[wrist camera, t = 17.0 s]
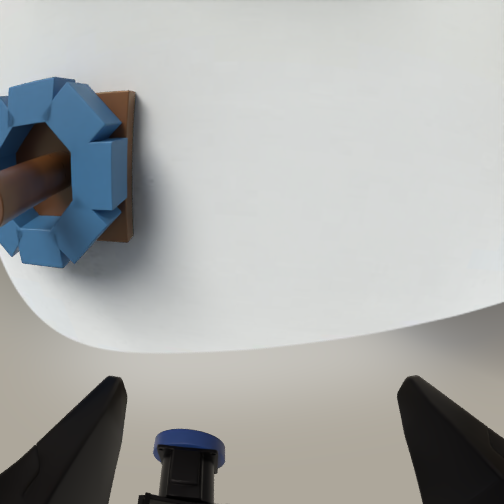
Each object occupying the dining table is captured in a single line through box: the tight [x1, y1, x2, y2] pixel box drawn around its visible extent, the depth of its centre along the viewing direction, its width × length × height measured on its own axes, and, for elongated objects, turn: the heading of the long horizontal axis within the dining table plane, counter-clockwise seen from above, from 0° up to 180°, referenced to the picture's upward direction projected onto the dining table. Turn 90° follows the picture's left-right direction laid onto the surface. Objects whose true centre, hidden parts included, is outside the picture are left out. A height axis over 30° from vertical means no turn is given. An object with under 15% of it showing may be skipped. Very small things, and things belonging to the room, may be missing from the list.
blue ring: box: [0, 77, 128, 268], centre depth 14 cm, size 11×11×2 cm
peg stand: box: [0, 90, 135, 243], centre depth 12 cm, size 9×9×8 cm
